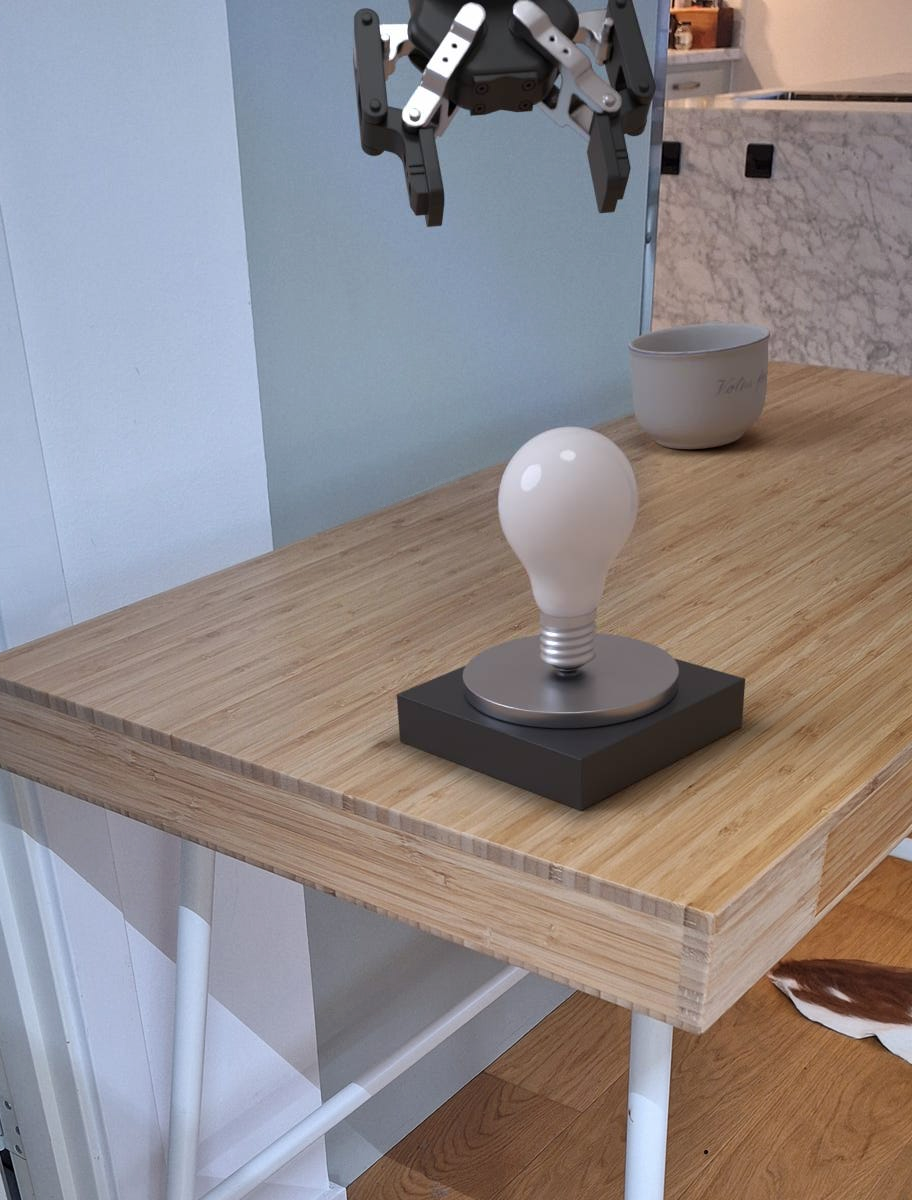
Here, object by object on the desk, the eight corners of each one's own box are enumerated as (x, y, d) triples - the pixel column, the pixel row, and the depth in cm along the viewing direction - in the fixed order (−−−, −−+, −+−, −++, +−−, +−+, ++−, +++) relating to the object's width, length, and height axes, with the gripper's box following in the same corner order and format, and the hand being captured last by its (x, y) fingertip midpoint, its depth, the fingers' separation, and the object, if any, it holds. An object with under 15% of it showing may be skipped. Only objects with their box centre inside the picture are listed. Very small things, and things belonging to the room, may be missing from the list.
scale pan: (561, 632, 77) (561, 617, 77) (722, 678, 71) (723, 662, 70) (419, 692, 72) (418, 676, 71) (580, 748, 65) (580, 731, 65)
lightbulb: (486, 688, 69) (478, 444, 63) (522, 641, 74) (517, 410, 68) (618, 698, 68) (623, 448, 61) (646, 649, 72) (653, 412, 66)
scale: (560, 670, 80) (560, 625, 78) (742, 726, 72) (746, 678, 71) (399, 741, 73) (395, 693, 72) (581, 811, 66) (581, 759, 64)
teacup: (735, 462, 112) (743, 349, 108) (605, 452, 117) (606, 342, 112) (792, 421, 122) (801, 315, 117) (670, 412, 127) (674, 310, 122)
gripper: (329, -145, 68) (380, 159, 66) (626, -162, 70) (687, 135, 67) (328, -4, 76) (374, 275, 73) (596, -22, 77) (651, 251, 75)
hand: (524, 207), depth 70 cm, fingers open, 8 cm apart
